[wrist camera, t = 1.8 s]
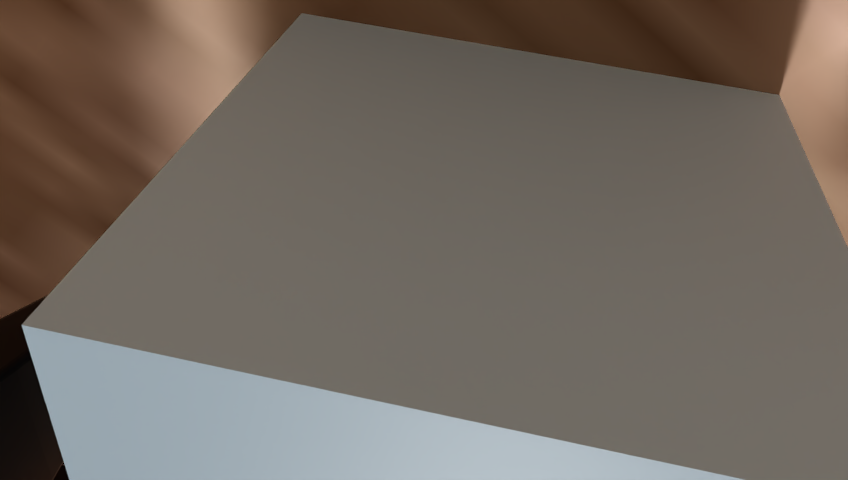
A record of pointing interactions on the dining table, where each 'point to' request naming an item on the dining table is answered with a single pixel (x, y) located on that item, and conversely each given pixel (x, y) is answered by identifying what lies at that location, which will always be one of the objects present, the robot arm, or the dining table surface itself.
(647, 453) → the blue cube
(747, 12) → the dining table surface
